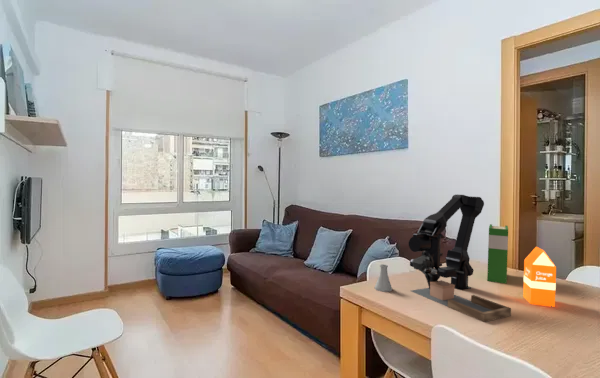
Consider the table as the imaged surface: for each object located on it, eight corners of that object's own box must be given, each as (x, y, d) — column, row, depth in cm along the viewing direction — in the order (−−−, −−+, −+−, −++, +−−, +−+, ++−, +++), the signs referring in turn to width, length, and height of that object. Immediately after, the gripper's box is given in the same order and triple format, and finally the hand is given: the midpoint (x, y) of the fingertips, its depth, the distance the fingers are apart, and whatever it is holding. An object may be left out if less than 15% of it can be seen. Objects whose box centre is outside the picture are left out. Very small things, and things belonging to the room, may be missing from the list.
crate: (441, 293, 131) (441, 280, 130) (454, 298, 125) (454, 284, 125) (429, 295, 128) (429, 282, 128) (442, 300, 122) (442, 286, 122)
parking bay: (473, 301, 122) (473, 294, 122) (510, 315, 109) (511, 308, 109) (447, 306, 116) (447, 299, 116) (484, 322, 104) (484, 314, 104)
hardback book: (488, 272, 165) (489, 224, 164) (505, 274, 161) (507, 225, 161) (487, 280, 150) (488, 228, 149) (506, 283, 146) (508, 229, 146)
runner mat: (433, 287, 138) (433, 286, 138) (510, 316, 109) (510, 315, 109) (409, 291, 133) (409, 290, 133) (483, 322, 104) (483, 321, 104)
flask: (393, 293, 130) (393, 268, 130) (374, 291, 132) (374, 266, 132) (391, 287, 138) (392, 263, 137) (373, 286, 139) (374, 262, 139)
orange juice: (546, 299, 127) (547, 247, 127) (555, 307, 119) (557, 251, 118) (522, 296, 130) (524, 245, 129) (529, 304, 121) (531, 249, 121)
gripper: (400, 246, 136) (399, 284, 136) (435, 256, 119) (434, 299, 119) (420, 245, 141) (419, 281, 141) (457, 254, 124) (456, 295, 124)
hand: (431, 289), depth 131 cm, fingers closed
